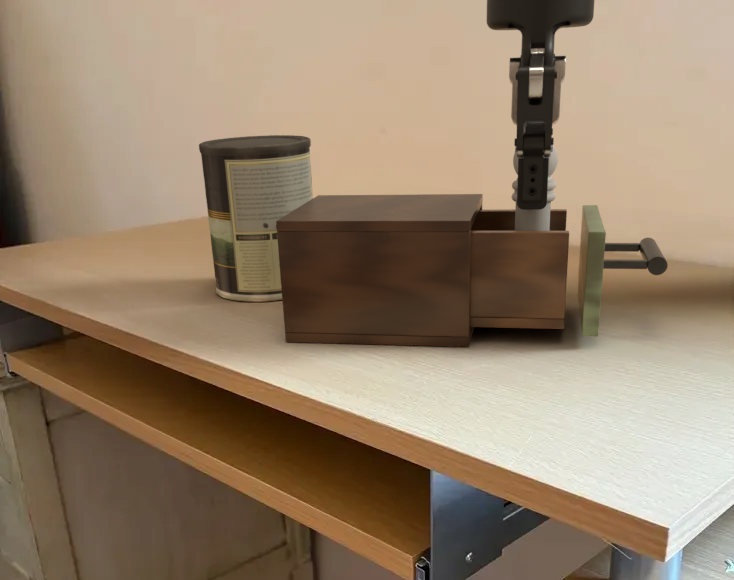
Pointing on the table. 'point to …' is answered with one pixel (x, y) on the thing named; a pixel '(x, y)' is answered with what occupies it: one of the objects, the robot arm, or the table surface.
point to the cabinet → (378, 269)
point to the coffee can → (252, 208)
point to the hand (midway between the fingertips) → (532, 203)
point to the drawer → (543, 270)
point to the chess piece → (538, 217)
